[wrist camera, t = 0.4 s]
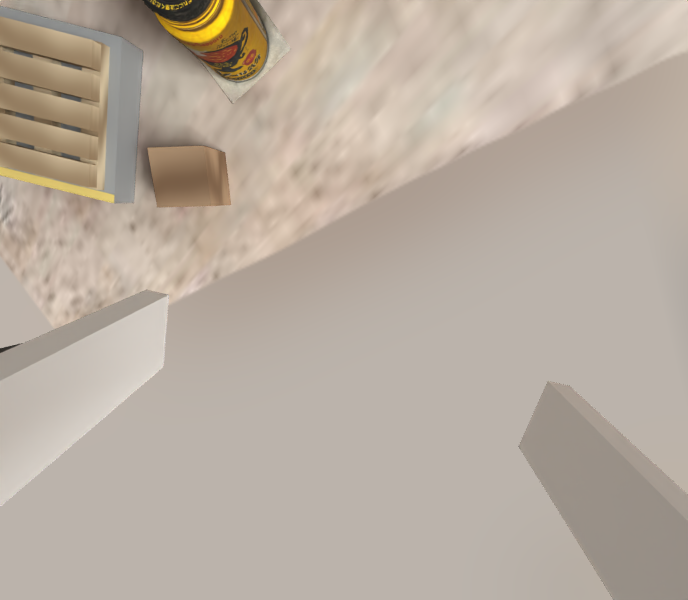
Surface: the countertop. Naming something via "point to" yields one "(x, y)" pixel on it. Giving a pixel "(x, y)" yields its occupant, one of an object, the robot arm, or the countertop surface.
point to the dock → (119, 113)
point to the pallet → (53, 103)
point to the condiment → (225, 38)
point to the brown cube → (189, 176)
